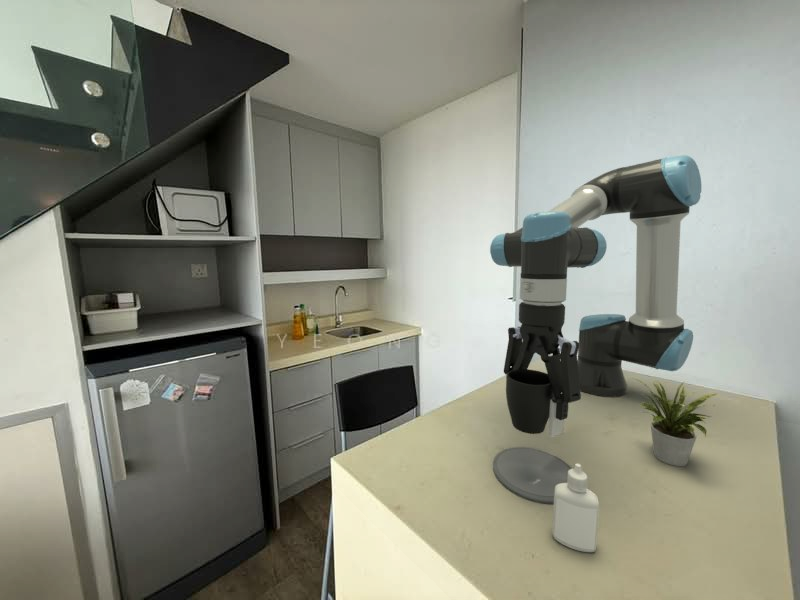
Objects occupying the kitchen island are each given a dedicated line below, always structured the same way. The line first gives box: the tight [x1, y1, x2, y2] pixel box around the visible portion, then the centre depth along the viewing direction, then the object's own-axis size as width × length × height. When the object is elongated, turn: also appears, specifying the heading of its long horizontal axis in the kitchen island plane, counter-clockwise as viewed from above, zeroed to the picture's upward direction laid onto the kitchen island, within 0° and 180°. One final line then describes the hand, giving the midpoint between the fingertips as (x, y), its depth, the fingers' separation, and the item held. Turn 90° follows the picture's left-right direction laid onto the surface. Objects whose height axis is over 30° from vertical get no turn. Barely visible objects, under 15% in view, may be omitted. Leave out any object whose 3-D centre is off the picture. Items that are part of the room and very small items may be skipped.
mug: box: [505, 369, 554, 435], centre depth 59 cm, size 8×12×10 cm
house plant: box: [631, 377, 717, 467], centre depth 65 cm, size 14×14×16 cm
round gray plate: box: [492, 446, 573, 505], centre depth 61 cm, size 15×15×1 cm
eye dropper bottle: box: [551, 463, 600, 553], centre depth 46 cm, size 4×6×12 cm
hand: (536, 422), depth 60 cm, fingers closed on mug, 8 cm apart
